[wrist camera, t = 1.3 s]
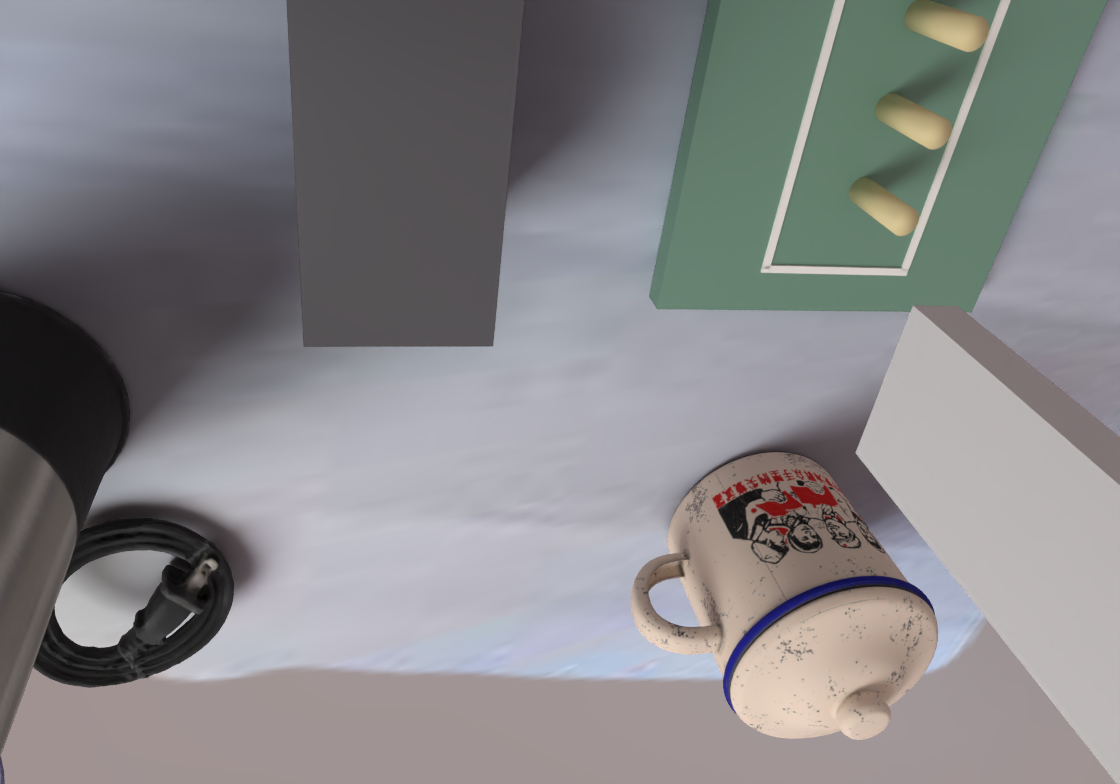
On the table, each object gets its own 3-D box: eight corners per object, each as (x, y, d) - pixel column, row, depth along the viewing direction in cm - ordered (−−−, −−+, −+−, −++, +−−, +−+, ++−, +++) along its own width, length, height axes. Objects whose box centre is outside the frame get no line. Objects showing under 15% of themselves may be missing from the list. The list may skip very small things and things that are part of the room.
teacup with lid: (860, 440, 40) (1021, 634, 30) (808, 577, 45) (932, 781, 35) (617, 450, 37) (710, 667, 28) (590, 595, 42) (661, 822, 32)
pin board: (649, 296, 33) (682, 349, 30) (748, -202, 24) (811, -204, 21) (957, 301, 36) (1017, 349, 33) (1141, -136, 28) (1247, -129, 24)
